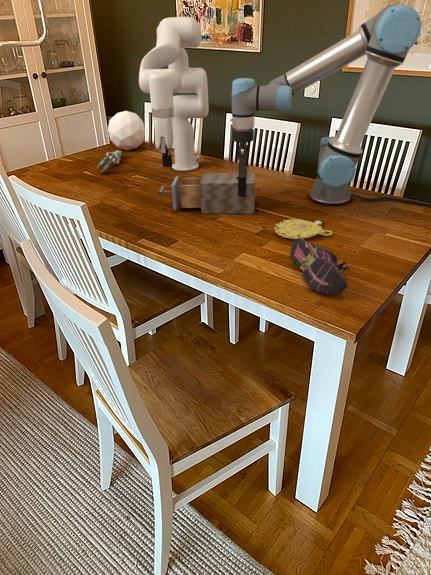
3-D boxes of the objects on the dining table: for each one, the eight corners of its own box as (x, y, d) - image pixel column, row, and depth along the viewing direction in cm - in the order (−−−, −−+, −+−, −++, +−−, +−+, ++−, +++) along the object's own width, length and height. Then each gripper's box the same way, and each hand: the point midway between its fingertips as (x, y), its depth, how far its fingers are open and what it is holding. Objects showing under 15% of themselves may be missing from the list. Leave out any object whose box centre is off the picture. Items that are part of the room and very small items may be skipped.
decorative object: (286, 211, 157) (342, 219, 147) (286, 217, 158) (341, 226, 148) (260, 233, 142) (319, 243, 133) (260, 240, 144) (319, 251, 134)
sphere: (121, 160, 244) (102, 128, 241) (152, 143, 246) (133, 111, 243) (119, 152, 225) (98, 116, 222) (153, 133, 227) (132, 97, 225)
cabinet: (201, 213, 162) (199, 183, 156) (204, 201, 172) (203, 173, 166) (254, 213, 161) (255, 183, 155) (254, 202, 170) (255, 172, 164)
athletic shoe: (333, 284, 107) (372, 276, 111) (293, 223, 119) (330, 218, 123) (316, 311, 116) (353, 303, 120) (281, 252, 127) (315, 246, 132)
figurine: (101, 154, 197) (119, 141, 223) (91, 167, 200) (110, 152, 227) (114, 165, 199) (130, 151, 225) (103, 178, 203) (121, 162, 229)
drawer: (159, 209, 163) (156, 185, 158) (163, 199, 172) (161, 176, 167) (222, 210, 162) (221, 185, 157) (224, 199, 170) (223, 176, 165)
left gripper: (156, 108, 156) (161, 160, 166) (147, 117, 144) (153, 173, 153) (177, 108, 156) (180, 160, 165) (170, 117, 143) (174, 173, 153)
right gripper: (233, 121, 161) (233, 179, 172) (230, 137, 141) (230, 202, 153) (254, 120, 160) (252, 179, 172) (253, 137, 140) (252, 202, 152)
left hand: (167, 166), depth 159 cm, fingers closed
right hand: (242, 190), depth 162 cm, fingers closed on cabinet, 11 cm apart
